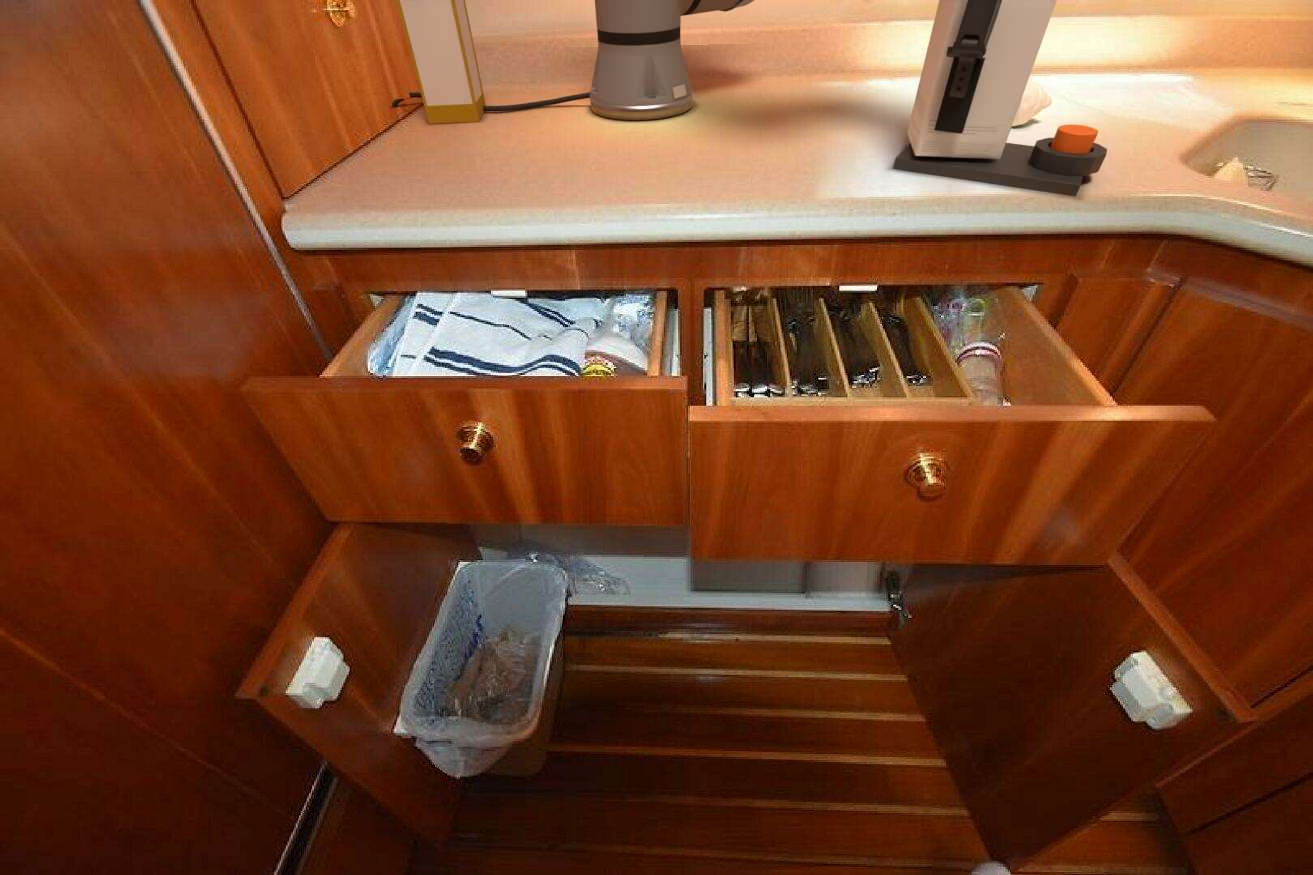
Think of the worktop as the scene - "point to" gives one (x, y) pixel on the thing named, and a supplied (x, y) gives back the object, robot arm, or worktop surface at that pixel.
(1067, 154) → the base
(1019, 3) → the rectangular carton
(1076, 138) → the switch
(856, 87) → the worktop surface
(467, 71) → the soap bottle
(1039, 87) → the garlic bulb
